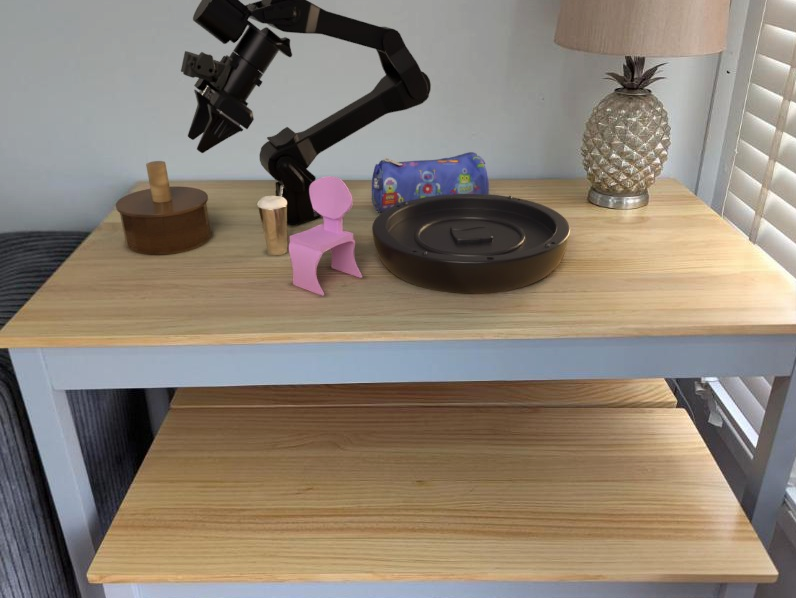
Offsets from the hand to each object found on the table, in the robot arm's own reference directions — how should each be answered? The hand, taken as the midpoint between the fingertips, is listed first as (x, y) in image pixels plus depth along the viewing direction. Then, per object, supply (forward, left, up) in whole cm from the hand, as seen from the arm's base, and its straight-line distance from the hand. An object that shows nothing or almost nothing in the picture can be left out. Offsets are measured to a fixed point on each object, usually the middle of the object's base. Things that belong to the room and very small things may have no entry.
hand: (194, 144), depth 126 cm
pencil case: (-20, -34, -15) cm, 43 cm away
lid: (+2, +7, -8) cm, 11 cm away
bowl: (+2, +7, -15) cm, 16 cm away
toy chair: (-31, +1, -15) cm, 35 cm away
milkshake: (-16, -2, -15) cm, 22 cm away
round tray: (-42, -20, -15) cm, 49 cm away
